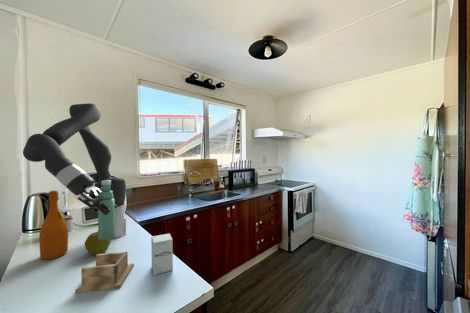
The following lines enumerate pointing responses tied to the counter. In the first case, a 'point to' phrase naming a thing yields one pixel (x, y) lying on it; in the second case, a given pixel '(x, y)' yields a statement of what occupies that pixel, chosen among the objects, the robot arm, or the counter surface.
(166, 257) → the supplement box
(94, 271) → the U stand
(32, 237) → the counter surface
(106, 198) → the green bottle
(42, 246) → the wine bottle
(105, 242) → the apple
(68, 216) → the french press
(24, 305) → the counter surface
